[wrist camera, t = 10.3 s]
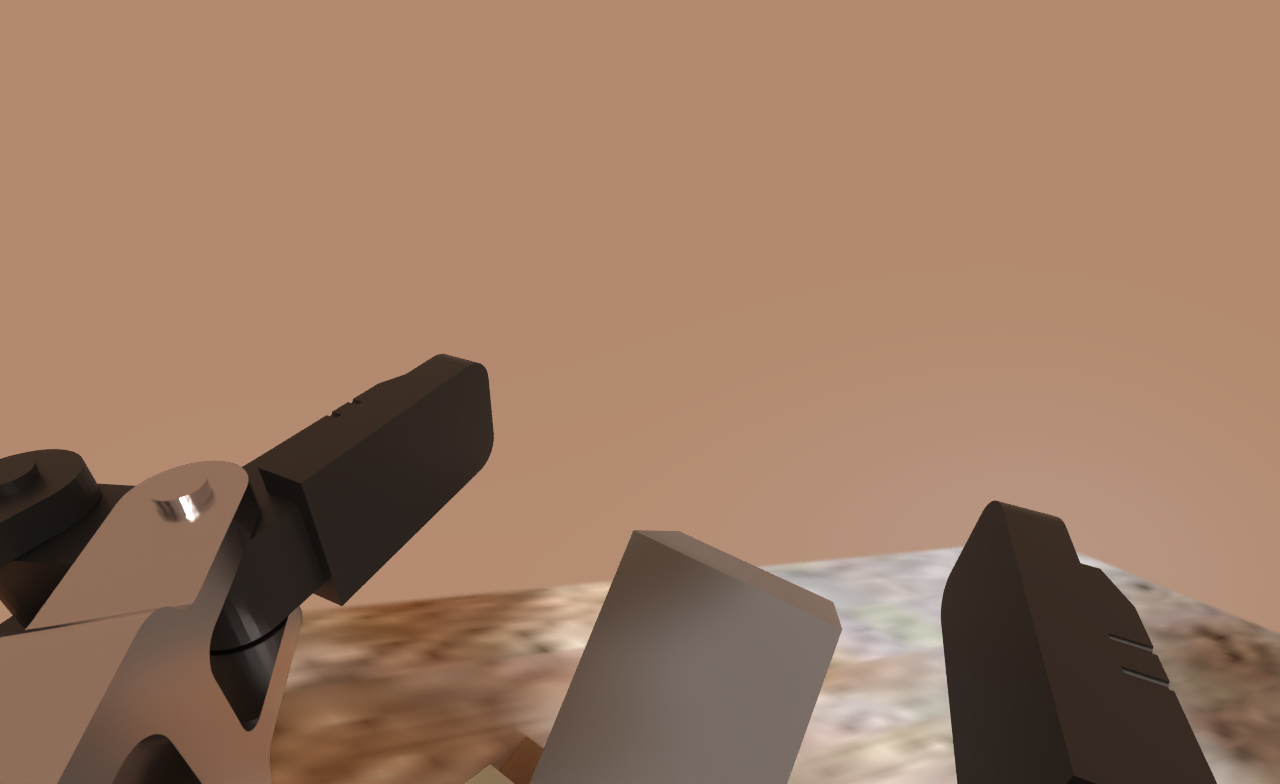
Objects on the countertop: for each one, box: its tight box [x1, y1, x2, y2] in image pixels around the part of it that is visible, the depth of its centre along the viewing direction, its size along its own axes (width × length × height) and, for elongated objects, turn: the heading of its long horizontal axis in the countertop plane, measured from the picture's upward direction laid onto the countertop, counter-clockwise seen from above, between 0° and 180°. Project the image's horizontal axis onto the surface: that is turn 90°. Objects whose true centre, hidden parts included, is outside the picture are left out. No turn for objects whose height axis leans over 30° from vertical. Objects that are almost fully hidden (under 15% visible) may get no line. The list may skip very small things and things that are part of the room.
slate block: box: [530, 530, 842, 784], centre depth 14 cm, size 5×5×10 cm
